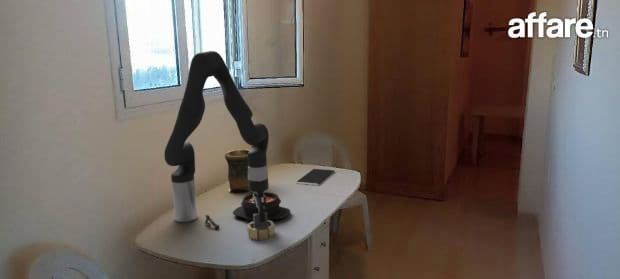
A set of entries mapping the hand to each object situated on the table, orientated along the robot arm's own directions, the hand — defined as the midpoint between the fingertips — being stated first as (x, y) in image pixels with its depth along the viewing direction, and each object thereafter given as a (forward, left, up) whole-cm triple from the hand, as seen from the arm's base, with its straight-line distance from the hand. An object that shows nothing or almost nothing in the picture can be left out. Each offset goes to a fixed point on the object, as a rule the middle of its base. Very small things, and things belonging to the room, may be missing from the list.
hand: (260, 217), depth 167 cm
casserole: (-19, +4, -7) cm, 21 cm away
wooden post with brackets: (-14, -18, -7) cm, 24 cm away
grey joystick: (0, 0, -4) cm, 4 cm away
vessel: (-57, +1, -7) cm, 57 cm away
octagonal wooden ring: (0, 0, -7) cm, 7 cm away
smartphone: (-63, +43, -8) cm, 77 cm away
